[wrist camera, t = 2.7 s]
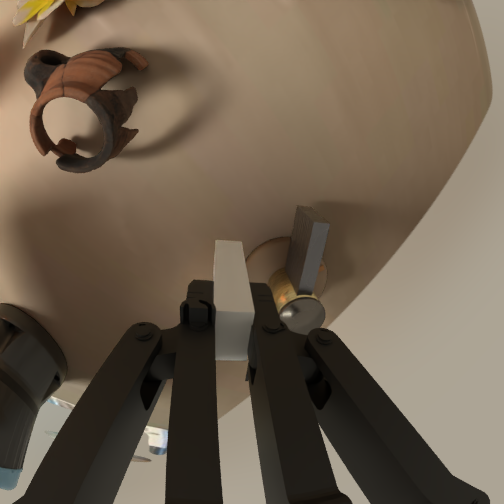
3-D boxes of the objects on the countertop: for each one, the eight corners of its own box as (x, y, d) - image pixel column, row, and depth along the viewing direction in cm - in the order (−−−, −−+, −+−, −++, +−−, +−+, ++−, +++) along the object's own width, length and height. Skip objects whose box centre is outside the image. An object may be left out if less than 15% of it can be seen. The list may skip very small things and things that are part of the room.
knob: (301, 301, 26) (318, 337, 21) (263, 300, 25) (273, 338, 20) (323, 207, 22) (351, 229, 17) (280, 202, 21) (298, 224, 17)
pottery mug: (184, 72, 18) (152, 115, 13) (128, 143, 23) (94, 202, 18) (78, 9, 11) (11, 35, 6) (40, 91, 16) (-12, 139, 11)
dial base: (256, 318, 28) (258, 328, 27) (228, 255, 24) (229, 263, 23) (327, 292, 28) (333, 300, 26) (312, 224, 24) (318, 231, 23)
